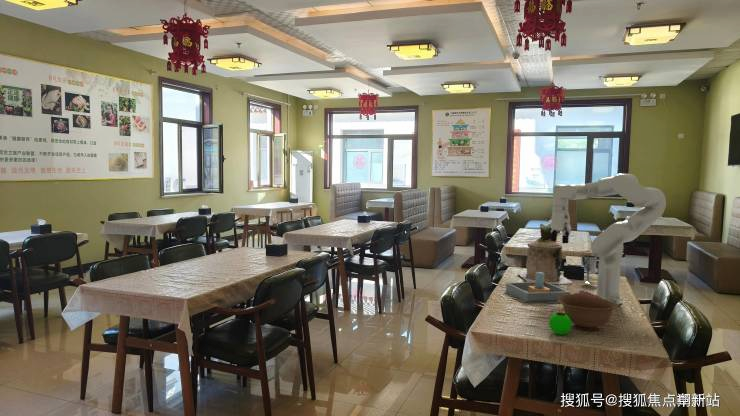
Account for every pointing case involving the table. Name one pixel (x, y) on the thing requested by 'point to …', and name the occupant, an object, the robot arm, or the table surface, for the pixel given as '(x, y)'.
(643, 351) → the table surface
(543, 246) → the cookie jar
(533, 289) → the frame
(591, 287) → the table surface
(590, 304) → the bowl
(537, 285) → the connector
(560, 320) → the ornament
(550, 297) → the walled box
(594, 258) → the wine glass
